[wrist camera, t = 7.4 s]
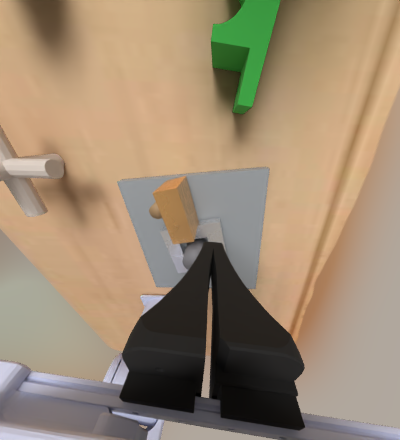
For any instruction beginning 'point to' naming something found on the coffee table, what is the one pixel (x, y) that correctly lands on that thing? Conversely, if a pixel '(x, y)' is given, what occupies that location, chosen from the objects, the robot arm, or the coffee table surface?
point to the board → (206, 209)
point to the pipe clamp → (245, 46)
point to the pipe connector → (27, 175)
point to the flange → (183, 220)
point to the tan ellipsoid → (155, 211)
